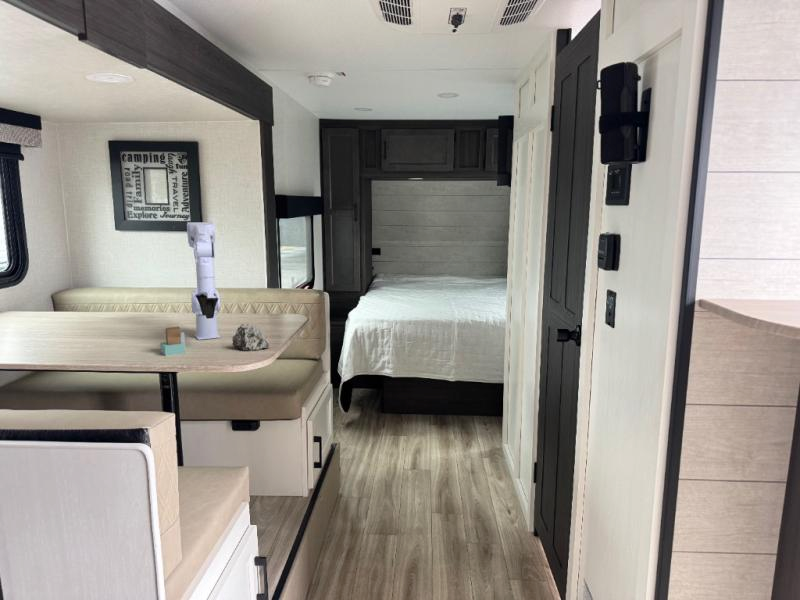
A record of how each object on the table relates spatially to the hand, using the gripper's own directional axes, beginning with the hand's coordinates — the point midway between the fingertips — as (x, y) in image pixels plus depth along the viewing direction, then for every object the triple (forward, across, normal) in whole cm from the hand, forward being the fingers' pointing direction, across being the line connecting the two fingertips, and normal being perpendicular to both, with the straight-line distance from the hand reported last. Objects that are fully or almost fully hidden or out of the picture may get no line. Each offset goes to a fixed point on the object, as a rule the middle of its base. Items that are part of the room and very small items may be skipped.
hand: (207, 316), depth 182 cm
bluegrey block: (+10, -5, -10) cm, 15 cm away
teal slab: (+11, +3, -12) cm, 17 cm away
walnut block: (+7, +3, -12) cm, 14 cm away
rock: (+11, +9, +12) cm, 19 cm away
